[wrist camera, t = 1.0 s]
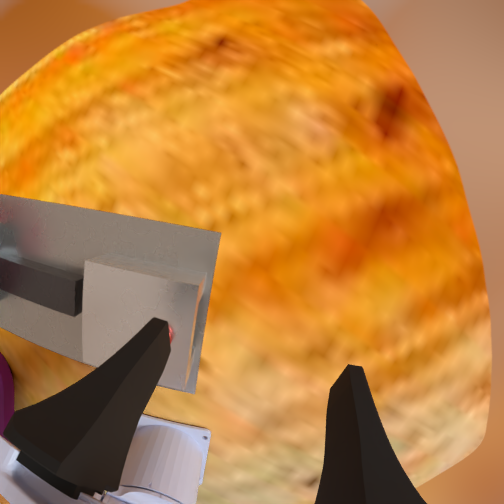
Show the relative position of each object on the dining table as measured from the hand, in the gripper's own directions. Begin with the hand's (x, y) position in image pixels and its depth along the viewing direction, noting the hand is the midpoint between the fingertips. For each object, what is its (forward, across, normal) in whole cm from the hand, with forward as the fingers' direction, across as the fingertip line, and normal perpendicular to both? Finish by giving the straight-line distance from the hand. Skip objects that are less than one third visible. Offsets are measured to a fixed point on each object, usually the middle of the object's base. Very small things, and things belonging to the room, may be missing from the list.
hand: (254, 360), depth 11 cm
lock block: (+7, +9, +8) cm, 14 cm away
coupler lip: (+6, +16, +8) cm, 19 cm away
